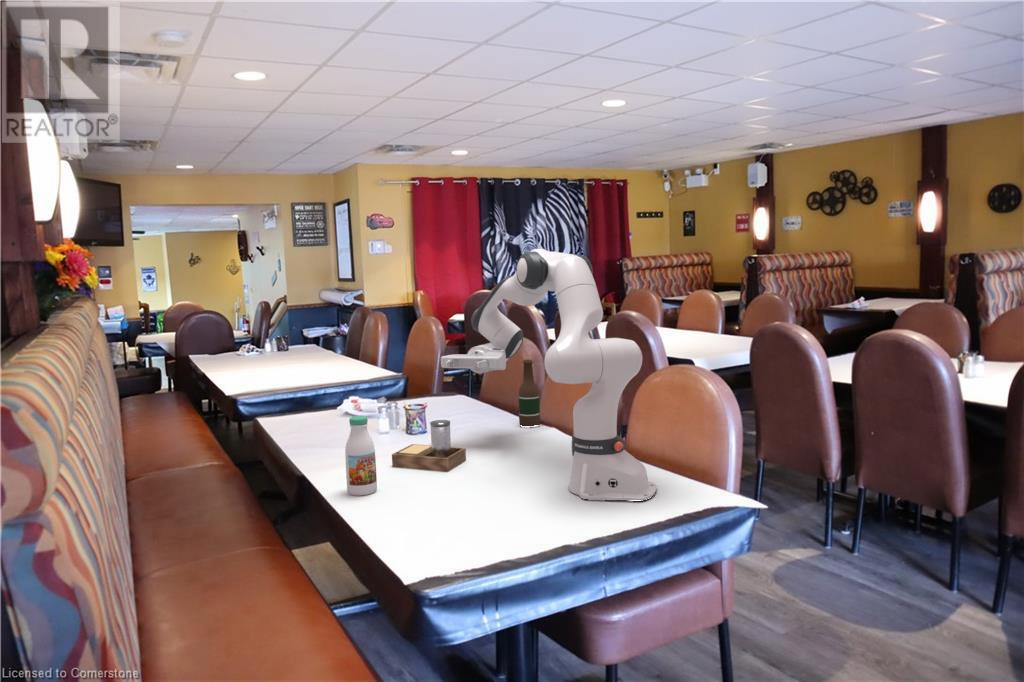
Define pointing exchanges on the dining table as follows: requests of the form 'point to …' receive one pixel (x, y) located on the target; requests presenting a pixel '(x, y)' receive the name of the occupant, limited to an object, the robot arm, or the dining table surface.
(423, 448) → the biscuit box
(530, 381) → the beer bottle
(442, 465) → the caddy
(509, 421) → the dining table surface
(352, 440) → the milk bottle
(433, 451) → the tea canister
